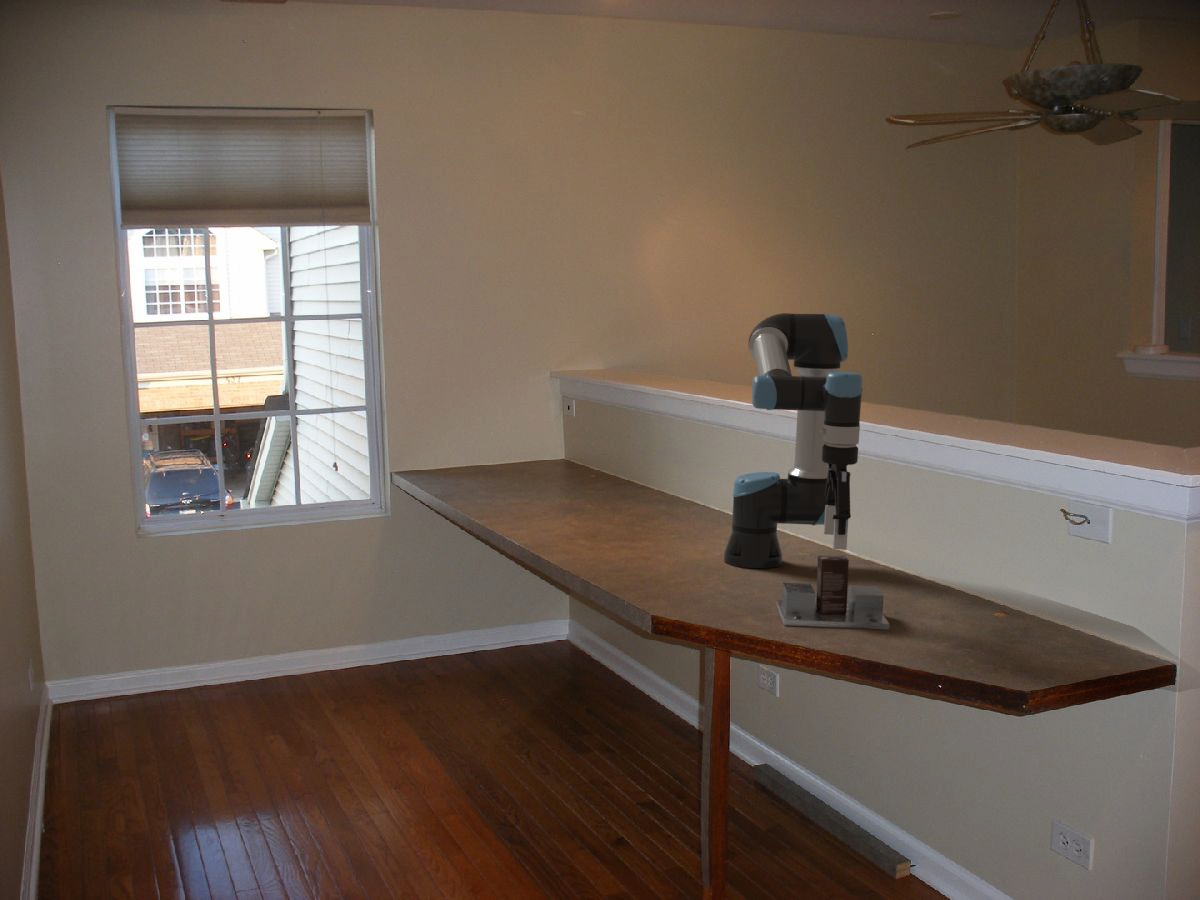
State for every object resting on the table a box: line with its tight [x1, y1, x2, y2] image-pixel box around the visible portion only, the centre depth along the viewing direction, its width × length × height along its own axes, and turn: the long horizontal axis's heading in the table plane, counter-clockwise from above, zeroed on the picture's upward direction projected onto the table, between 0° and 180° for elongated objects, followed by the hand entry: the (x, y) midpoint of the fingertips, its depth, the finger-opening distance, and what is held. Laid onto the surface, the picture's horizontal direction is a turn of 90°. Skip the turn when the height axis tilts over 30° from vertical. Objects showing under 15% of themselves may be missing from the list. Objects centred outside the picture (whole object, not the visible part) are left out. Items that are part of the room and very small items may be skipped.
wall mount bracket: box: [776, 582, 890, 630], centre depth 250 cm, size 16×22×6 cm
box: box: [816, 555, 850, 613], centre depth 250 cm, size 6×4×12 cm
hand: (834, 541), depth 249 cm, fingers open, 13 cm apart
